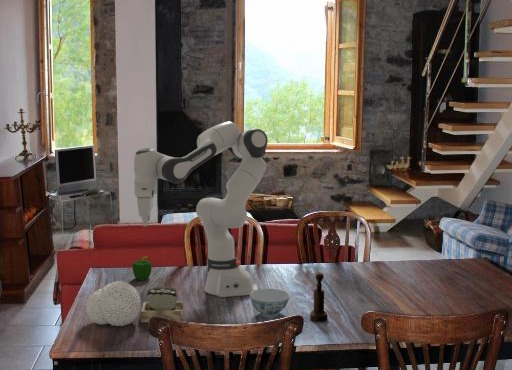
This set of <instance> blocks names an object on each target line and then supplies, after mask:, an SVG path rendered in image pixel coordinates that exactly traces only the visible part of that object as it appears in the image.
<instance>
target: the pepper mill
mask: <svg viewBox="0 0 512 370" xmlns="http://www.w3.org/2000/svg"><path fill="white" fill-rule="evenodd" d="M314 277H315V279H316V282H317V283H315V286H316V289H313V309H312V310H311V311H310V313H309V319H310V320H311V321H312V322H314V323H315V322H316V323H321V322H326V321H327V320H328V312H327V311H325V289H322V288H323V284H322V281H323V279H324V274H323V272H316V273H315V276H314Z"/></svg>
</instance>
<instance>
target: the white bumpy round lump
mask: <svg viewBox="0 0 512 370" xmlns="http://www.w3.org/2000/svg"><path fill="white" fill-rule="evenodd" d="M141 306H142V302H141V297H140V294H139V292H138V291H137V290H136V288H135V287H134V286H133V285H132V284H130V283H129V282H126V281H121V280H117V281H113V282H110V283H108V284H107V283H106V285H105V286H103V287H102V288H99V289H97V290H95V291H94V292H93V293H92V294H90V295H89V297H88V299H87V300H86V307H85V311H86V314H87V316H88V318H89V319H90V320H91V321H92V322H93V323H95V324H97V325H100V326H103V325H108V324H109V325H110V326H112V327H113V326H116V327H123V326H126V325H130V324H131V323H132V322H134V321H135V320H136V318H137V317H138V316H139V314H140V312H141V308H142V307H141Z"/></svg>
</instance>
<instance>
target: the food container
mask: <svg viewBox="0 0 512 370" xmlns="http://www.w3.org/2000/svg"><path fill="white" fill-rule="evenodd" d="M145 296H147V302H148V303H149V310H176V302H177V298H179V292H178V289H176V288H175V287H171V286H155V287H151V288H148V289H146V293H145Z"/></svg>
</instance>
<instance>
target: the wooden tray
mask: <svg viewBox="0 0 512 370" xmlns="http://www.w3.org/2000/svg"><path fill="white" fill-rule="evenodd" d="M141 306H142V307H141V308H140V323H149V322H148V320H149V319H150V317H152V316H161V317H166V318H172V319H181V320H182V321H183V315H184V301H176V310H149V303H148V301H144V302H143V304H142V305H141Z"/></svg>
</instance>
